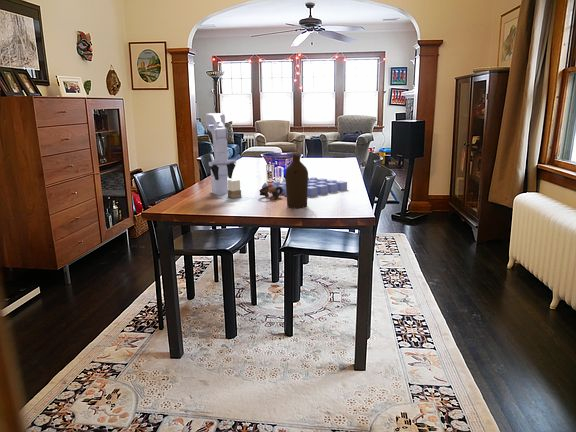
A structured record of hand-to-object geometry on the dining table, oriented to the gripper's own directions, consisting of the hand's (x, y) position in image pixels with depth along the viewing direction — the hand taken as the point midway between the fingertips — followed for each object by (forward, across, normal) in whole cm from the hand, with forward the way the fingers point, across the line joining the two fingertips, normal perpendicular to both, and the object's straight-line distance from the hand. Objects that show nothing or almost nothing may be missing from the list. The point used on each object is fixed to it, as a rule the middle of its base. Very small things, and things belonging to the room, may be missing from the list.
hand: (223, 179), depth 227 cm
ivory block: (+6, +5, -2) cm, 8 cm away
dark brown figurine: (+11, +18, -16) cm, 27 cm away
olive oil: (+11, +17, -38) cm, 43 cm away
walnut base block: (+10, +5, -2) cm, 11 cm away
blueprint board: (+10, +5, -2) cm, 12 cm away
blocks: (+11, +45, -9) cm, 47 cm away
